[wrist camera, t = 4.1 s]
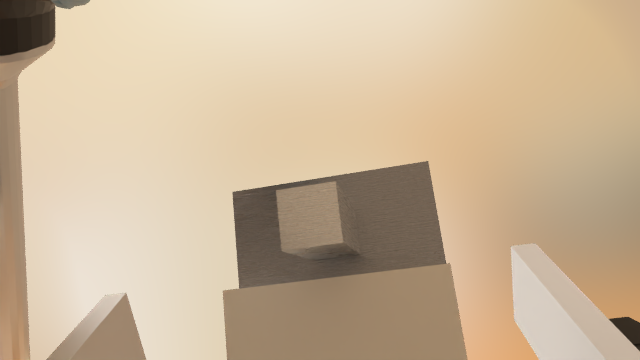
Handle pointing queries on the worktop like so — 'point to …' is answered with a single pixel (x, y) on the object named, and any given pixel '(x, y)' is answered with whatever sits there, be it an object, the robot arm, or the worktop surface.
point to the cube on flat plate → (337, 226)
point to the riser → (348, 318)
